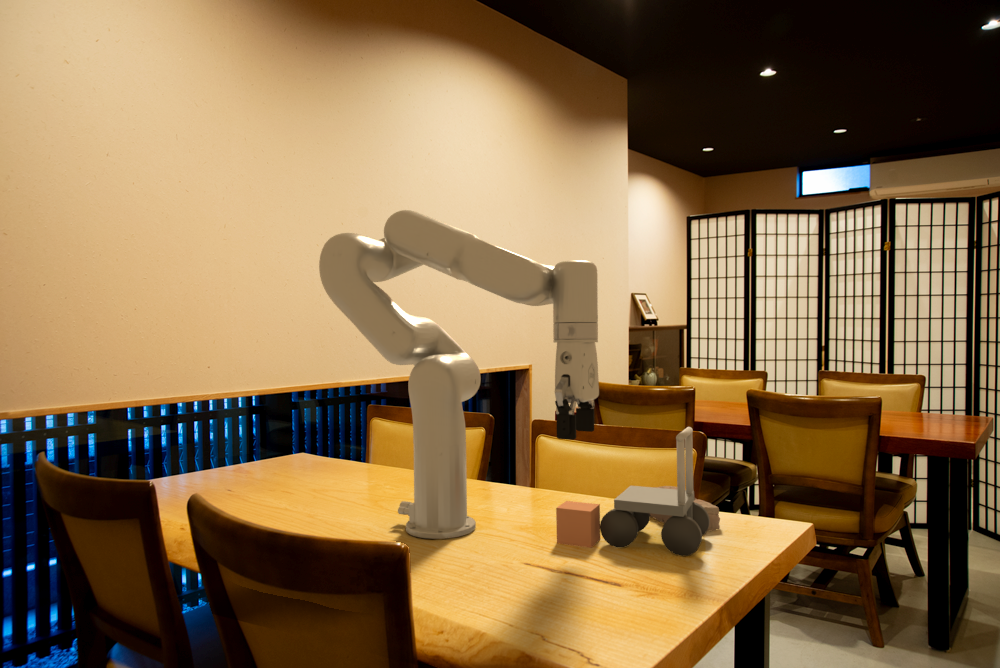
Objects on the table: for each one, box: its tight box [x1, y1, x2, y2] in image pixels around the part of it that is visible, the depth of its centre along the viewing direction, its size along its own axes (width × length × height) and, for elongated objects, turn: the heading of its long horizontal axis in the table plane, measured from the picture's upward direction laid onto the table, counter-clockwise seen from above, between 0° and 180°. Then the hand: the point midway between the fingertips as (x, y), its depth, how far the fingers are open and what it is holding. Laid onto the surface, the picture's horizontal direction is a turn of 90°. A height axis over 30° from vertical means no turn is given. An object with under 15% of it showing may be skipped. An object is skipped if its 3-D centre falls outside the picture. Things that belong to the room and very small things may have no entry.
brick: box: [650, 485, 721, 531], centre depth 119 cm, size 17×8×5 cm, turn 15°
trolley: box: [600, 426, 710, 557], centre depth 105 cm, size 16×11×19 cm
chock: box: [555, 500, 601, 549], centre depth 106 cm, size 6×5×6 cm
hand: (576, 434), depth 107 cm, fingers open, 9 cm apart
